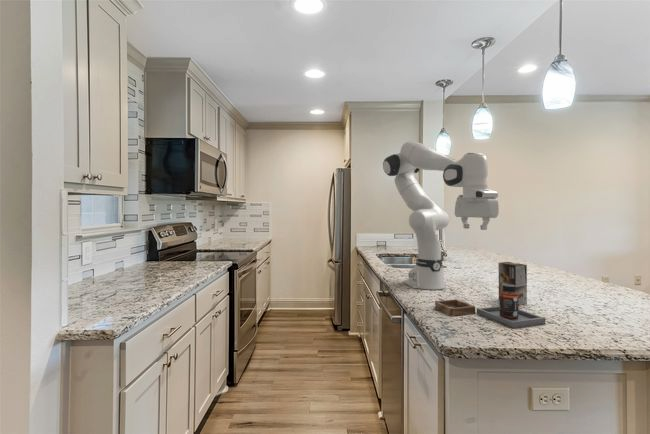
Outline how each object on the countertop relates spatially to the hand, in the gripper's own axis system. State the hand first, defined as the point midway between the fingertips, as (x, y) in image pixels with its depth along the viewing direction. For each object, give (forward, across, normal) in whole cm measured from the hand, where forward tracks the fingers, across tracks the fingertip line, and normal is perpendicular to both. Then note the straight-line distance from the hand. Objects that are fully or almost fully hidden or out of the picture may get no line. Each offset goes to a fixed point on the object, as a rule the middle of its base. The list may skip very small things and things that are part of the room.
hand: (474, 229), depth 131 cm
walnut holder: (+31, +1, -10) cm, 33 cm away
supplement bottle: (+31, +15, +2) cm, 34 cm away
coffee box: (+31, -2, +21) cm, 38 cm away
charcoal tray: (+31, +15, +2) cm, 34 cm away
